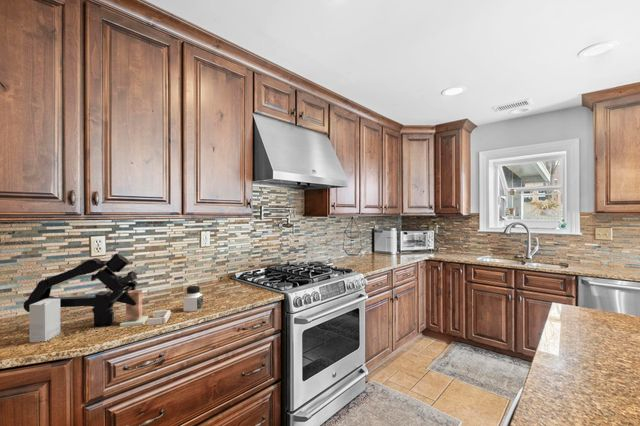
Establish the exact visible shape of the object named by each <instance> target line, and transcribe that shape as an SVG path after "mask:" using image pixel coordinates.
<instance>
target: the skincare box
mask: <svg viewBox="0 0 640 426" xmlns="http://www.w3.org/2000/svg"><path fill="white" fill-rule="evenodd" d="M29 306H30V312H29V328H28V329H29V343H41V342H40V341H46V342H48V341H49V339H50V340H52V339H53V338H55V337H56V336H60V334H61V307H60V299H44V300H41V301H39V302H36V303H34V304H31V305H29ZM47 340H48V341H47Z"/></svg>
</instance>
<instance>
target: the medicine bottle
mask: <svg viewBox="0 0 640 426" xmlns="http://www.w3.org/2000/svg"><path fill="white" fill-rule="evenodd" d="M200 290H201V289H200V286H199V285H196V284H195V285H193V284H192V285H189V286H187V287H186V296H184V297H183V312H199V311H200V310H201V309H203V308H204V294H203V293H200V292H201V291H200Z"/></svg>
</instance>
